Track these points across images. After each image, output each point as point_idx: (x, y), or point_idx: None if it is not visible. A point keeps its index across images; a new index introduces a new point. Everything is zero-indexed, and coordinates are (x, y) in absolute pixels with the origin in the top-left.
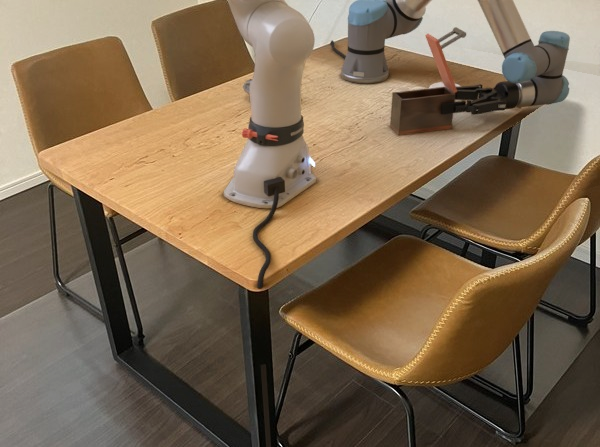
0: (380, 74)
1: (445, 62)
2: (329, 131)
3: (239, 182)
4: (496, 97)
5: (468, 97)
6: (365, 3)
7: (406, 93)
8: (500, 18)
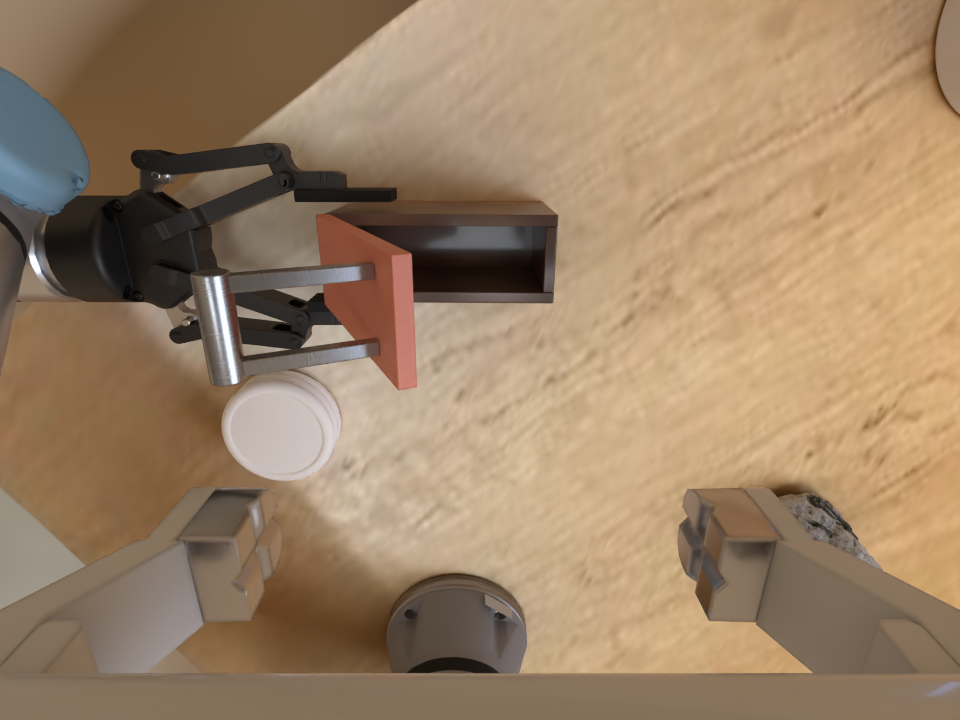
0: (430, 596)
1: (356, 233)
2: (729, 293)
3: None
4: (157, 206)
5: None
6: None
7: (499, 291)
8: None
